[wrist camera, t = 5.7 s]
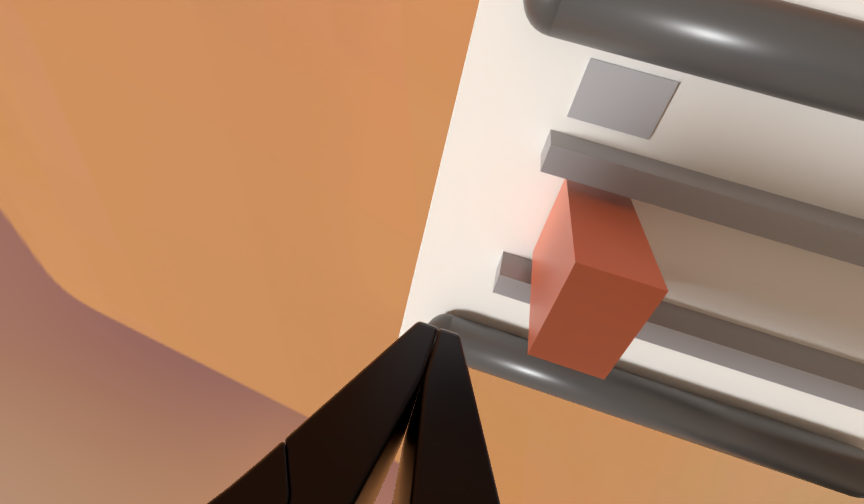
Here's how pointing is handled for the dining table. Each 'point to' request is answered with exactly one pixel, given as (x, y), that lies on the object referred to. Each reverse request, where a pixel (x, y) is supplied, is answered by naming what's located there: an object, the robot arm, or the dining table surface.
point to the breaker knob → (591, 281)
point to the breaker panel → (673, 212)
